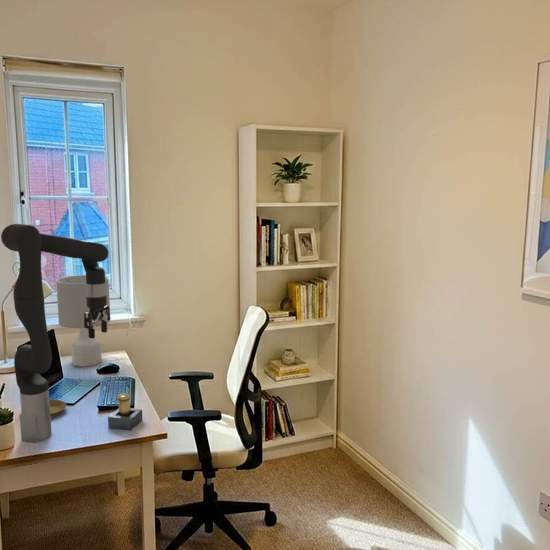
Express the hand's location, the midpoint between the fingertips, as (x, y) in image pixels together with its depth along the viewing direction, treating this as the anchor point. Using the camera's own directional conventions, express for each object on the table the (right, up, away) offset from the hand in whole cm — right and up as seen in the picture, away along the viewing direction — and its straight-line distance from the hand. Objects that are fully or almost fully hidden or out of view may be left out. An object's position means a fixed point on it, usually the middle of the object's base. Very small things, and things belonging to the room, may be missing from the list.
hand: (98, 335), depth 210 cm
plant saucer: (-20, -31, 0) cm, 37 cm away
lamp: (-25, -20, +59) cm, 68 cm away
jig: (+13, -32, -10) cm, 36 cm away
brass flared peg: (+13, -32, -9) cm, 36 cm away
